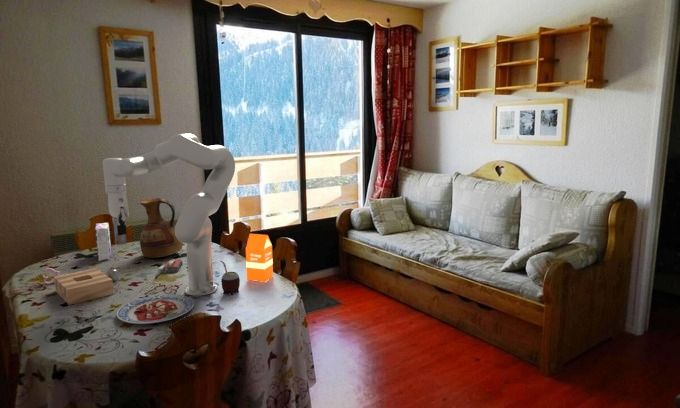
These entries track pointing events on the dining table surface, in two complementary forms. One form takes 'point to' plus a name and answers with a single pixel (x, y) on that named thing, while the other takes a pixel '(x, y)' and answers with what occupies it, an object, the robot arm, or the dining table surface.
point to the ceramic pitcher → (158, 231)
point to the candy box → (103, 241)
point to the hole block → (83, 286)
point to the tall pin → (118, 238)
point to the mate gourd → (230, 282)
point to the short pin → (113, 274)
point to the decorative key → (47, 277)
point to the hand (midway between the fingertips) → (120, 233)
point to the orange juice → (259, 258)
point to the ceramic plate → (155, 309)
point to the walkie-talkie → (170, 267)
